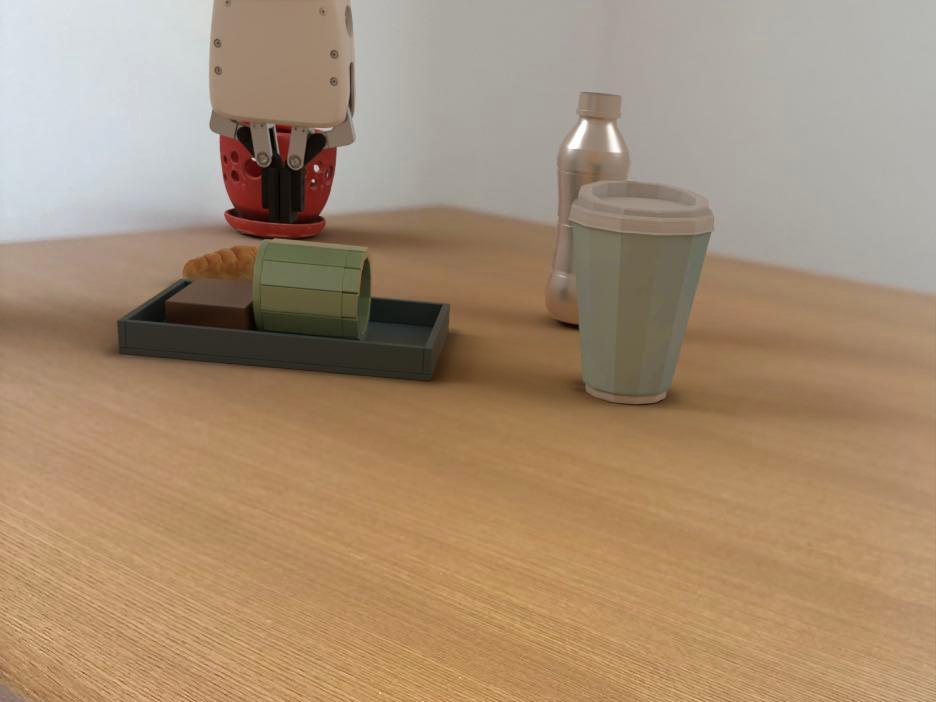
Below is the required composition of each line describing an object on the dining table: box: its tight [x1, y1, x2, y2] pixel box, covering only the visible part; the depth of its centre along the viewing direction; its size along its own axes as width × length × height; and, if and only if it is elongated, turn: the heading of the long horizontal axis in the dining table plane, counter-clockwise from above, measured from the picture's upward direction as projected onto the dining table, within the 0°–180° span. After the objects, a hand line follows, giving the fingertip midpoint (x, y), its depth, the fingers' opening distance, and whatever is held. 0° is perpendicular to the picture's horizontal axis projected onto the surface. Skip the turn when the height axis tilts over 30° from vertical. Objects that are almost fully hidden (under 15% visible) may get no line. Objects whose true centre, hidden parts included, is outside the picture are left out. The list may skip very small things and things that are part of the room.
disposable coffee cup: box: [568, 180, 716, 405], centre depth 83 cm, size 11×11×15 cm
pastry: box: [181, 244, 259, 282], centre depth 106 cm, size 9×7×4 cm
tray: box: [116, 278, 451, 382], centre depth 90 cm, size 23×15×2 cm, turn 89°
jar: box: [253, 238, 373, 341], centre depth 89 cm, size 7×7×8 cm
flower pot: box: [218, 120, 338, 240], centre depth 131 cm, size 13×13×12 cm
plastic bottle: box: [544, 91, 631, 327], centre depth 101 cm, size 6×7×20 cm
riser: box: [165, 278, 258, 331], centre depth 90 cm, size 6×9×3 cm, turn 179°
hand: (283, 220), depth 87 cm, fingers closed
